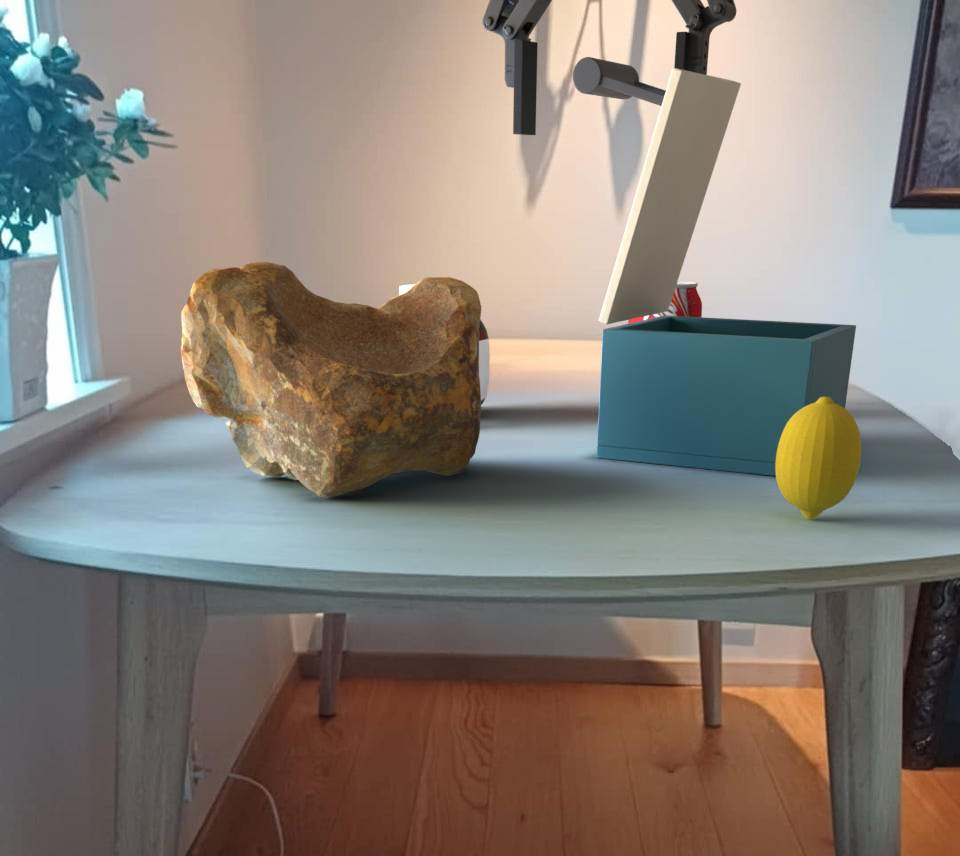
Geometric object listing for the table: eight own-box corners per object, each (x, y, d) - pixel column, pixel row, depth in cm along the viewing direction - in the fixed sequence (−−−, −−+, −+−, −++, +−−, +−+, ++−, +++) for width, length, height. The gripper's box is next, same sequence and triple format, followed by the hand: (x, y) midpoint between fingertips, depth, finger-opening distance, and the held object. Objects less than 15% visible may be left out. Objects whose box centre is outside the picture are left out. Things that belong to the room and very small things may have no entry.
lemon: (794, 531, 83) (809, 404, 79) (755, 512, 88) (767, 392, 84) (867, 525, 84) (886, 401, 81) (825, 507, 89) (841, 389, 85)
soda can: (618, 418, 123) (625, 284, 117) (627, 407, 129) (635, 279, 123) (690, 421, 121) (701, 285, 116) (697, 410, 127) (707, 280, 122)
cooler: (839, 449, 109) (856, 325, 104) (796, 478, 98) (813, 341, 93) (655, 432, 116) (663, 315, 111) (596, 457, 105) (602, 329, 100)
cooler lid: (741, 83, 101) (635, 48, 103) (682, 70, 90) (565, 32, 92) (668, 311, 111) (572, 274, 113) (606, 324, 100) (503, 284, 102)
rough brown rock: (213, 527, 86) (201, 292, 78) (182, 461, 99) (169, 254, 92) (528, 514, 93) (546, 297, 85) (460, 454, 107) (470, 261, 99)
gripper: (439, -196, 93) (442, 134, 103) (768, -241, 83) (736, 129, 93) (486, -173, 99) (484, 136, 109) (798, -213, 89) (765, 133, 99)
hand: (600, 134), depth 101 cm, fingers open, 13 cm apart
